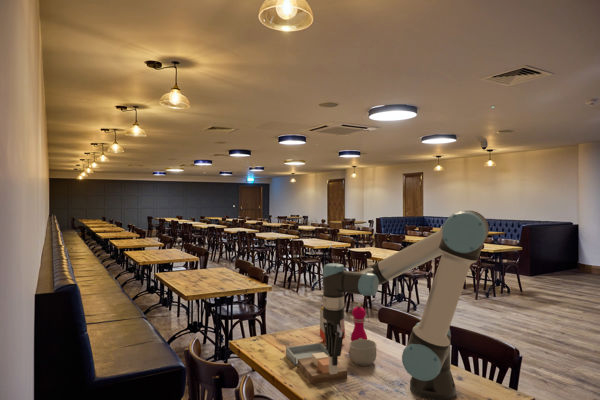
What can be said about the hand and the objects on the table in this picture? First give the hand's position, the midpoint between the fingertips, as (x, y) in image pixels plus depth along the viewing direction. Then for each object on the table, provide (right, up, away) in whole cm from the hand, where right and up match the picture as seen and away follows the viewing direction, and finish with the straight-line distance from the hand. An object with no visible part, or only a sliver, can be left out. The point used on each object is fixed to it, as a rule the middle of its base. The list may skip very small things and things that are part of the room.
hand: (333, 373), depth 144 cm
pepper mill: (+14, -4, +35) cm, 38 cm away
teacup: (+14, -4, +21) cm, 26 cm away
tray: (-8, -4, +24) cm, 26 cm away
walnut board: (-4, -4, +10) cm, 12 cm away
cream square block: (-4, -1, +12) cm, 13 cm away
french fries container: (+3, -4, +42) cm, 43 cm away
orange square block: (-2, -1, +6) cm, 6 cm away
